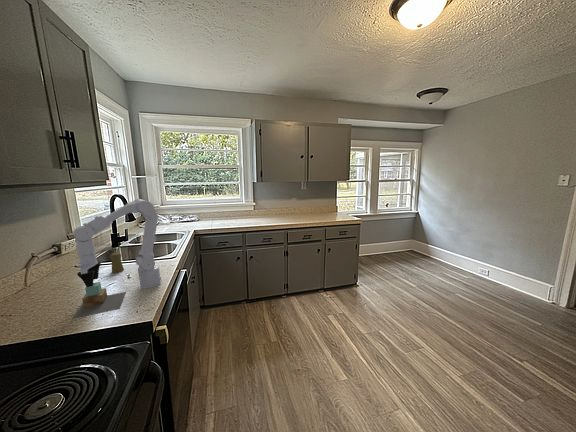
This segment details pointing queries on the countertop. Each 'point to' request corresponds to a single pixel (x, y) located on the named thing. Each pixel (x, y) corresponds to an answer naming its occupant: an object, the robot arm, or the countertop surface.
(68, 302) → the countertop surface
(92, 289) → the teal block
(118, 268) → the cork
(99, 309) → the mat
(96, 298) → the walnut block
